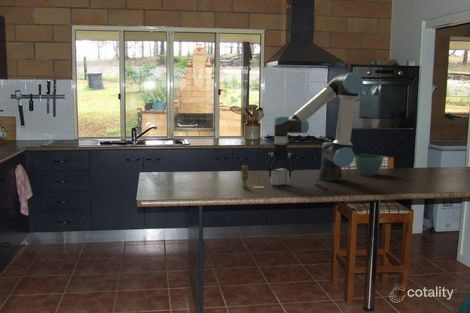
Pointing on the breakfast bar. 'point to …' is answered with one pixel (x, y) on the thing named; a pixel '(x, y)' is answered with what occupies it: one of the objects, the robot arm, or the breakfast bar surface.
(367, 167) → the plant pot
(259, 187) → the joist mark
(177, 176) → the breakfast bar surface
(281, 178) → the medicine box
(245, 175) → the awl
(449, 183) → the breakfast bar surface
